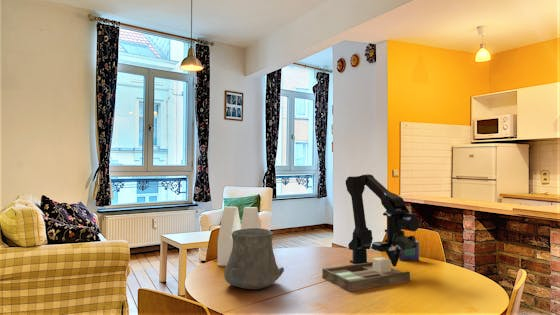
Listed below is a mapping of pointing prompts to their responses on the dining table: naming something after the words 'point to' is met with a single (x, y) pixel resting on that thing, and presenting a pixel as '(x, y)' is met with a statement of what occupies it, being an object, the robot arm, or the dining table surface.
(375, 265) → the block
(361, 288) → the box
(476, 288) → the dining table surface
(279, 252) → the dining table surface
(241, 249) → the vessel
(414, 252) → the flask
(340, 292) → the dining table surface
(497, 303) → the dining table surface
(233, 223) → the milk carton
